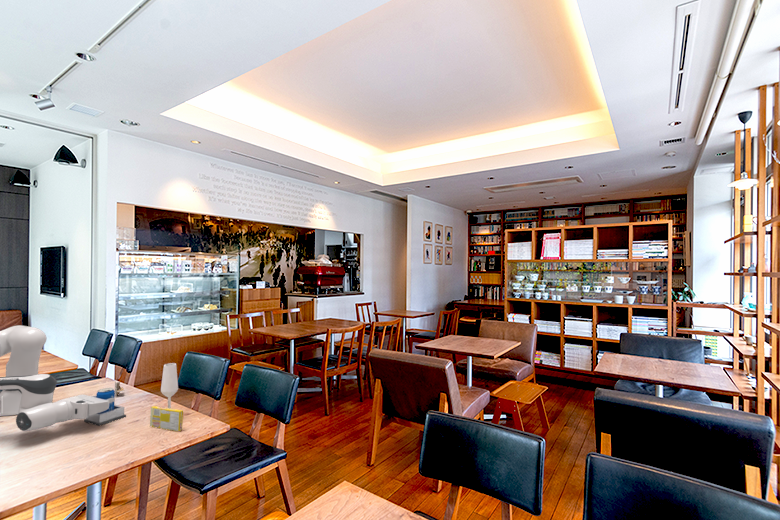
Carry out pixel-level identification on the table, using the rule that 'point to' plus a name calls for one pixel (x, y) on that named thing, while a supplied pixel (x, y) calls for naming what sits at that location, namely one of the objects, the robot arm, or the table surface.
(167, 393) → the champagne flute
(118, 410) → the can holder
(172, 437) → the table surface
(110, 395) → the beverage can
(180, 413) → the candy box
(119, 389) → the architectural model
